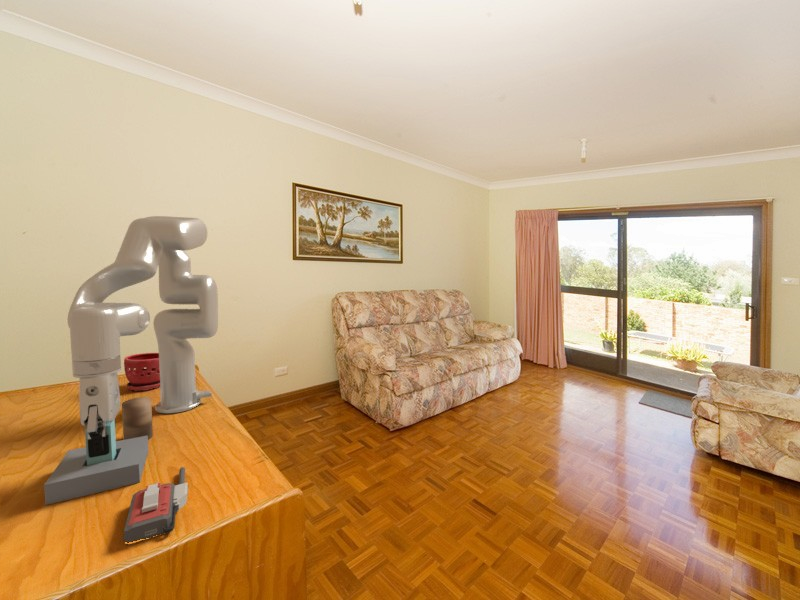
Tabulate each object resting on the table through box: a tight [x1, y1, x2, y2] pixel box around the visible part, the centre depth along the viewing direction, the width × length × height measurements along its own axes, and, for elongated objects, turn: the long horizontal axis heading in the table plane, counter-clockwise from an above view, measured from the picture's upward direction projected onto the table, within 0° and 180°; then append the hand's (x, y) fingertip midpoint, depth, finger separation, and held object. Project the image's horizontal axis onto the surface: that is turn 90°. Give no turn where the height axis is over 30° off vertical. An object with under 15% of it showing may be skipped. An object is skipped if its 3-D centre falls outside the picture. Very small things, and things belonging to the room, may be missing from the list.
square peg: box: [84, 417, 117, 466], centre depth 72 cm, size 4×4×10 cm
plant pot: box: [123, 352, 160, 392], centre depth 126 cm, size 13×13×12 cm
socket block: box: [43, 435, 149, 506], centre depth 72 cm, size 14×14×4 cm
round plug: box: [121, 396, 154, 441], centre depth 88 cm, size 6×6×10 cm
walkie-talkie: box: [123, 466, 189, 543], centre depth 63 cm, size 9×4×20 cm
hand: (102, 449), depth 72 cm, fingers closed on square peg, 4 cm apart
